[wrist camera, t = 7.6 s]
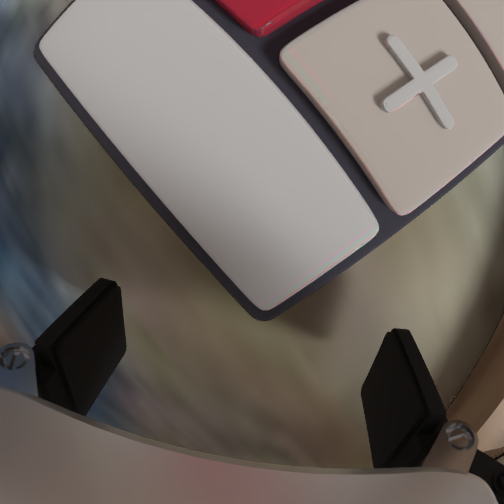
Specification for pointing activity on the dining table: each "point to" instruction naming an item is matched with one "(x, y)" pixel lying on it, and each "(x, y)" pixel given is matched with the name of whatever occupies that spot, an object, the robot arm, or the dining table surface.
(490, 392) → the brown wooden plank
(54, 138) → the dining table surface
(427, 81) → the calculator
